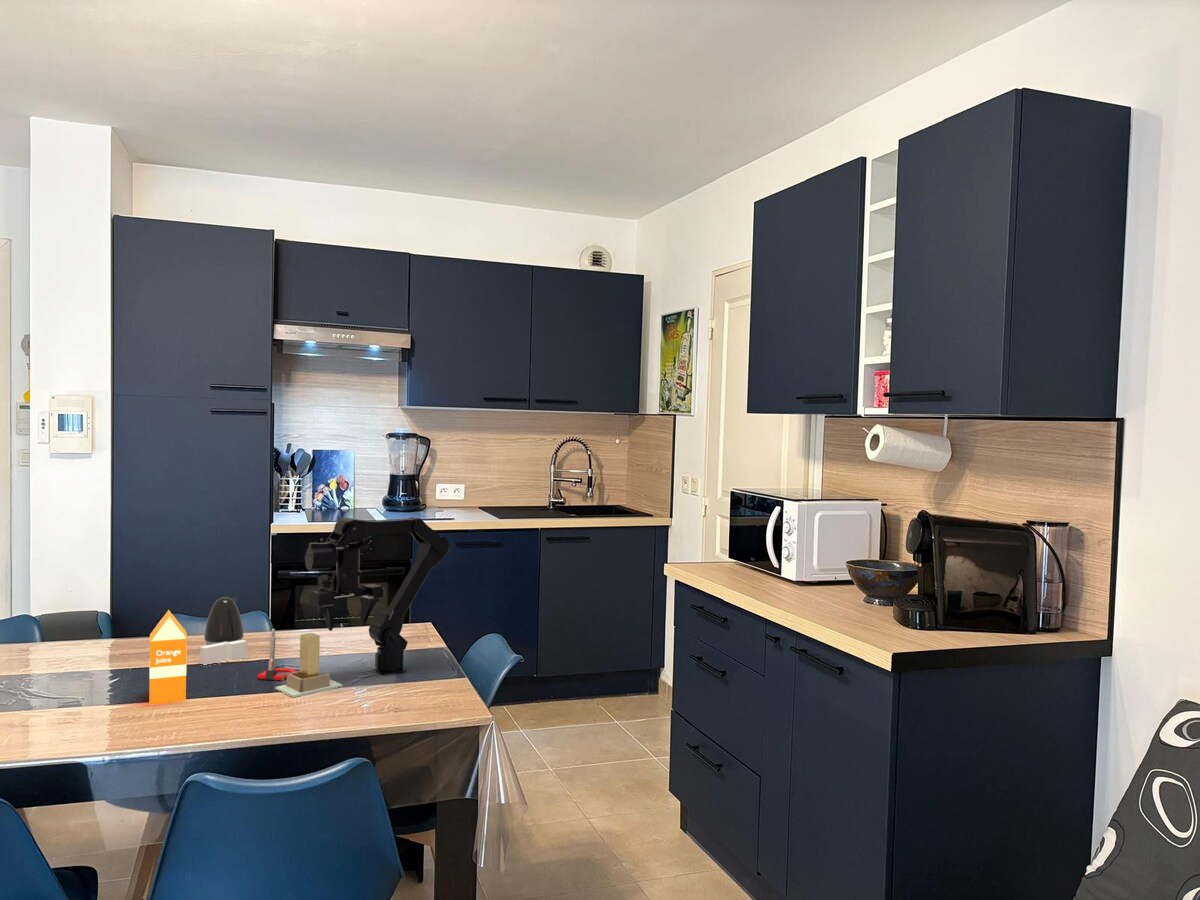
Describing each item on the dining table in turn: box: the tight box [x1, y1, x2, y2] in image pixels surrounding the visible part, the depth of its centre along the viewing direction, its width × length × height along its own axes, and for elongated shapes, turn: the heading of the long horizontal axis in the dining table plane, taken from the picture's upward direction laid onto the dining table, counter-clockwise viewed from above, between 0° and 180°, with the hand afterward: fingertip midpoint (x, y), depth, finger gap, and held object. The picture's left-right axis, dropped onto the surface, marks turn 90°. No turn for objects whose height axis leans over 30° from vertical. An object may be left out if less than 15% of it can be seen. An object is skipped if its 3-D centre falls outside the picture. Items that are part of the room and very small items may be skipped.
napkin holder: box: [199, 639, 248, 665], centre depth 233 cm, size 15×11×6 cm
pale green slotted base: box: [274, 670, 343, 698], centre depth 212 cm, size 13×9×4 cm
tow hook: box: [257, 628, 297, 682], centre depth 222 cm, size 8×13×9 cm
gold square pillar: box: [299, 632, 321, 679], centre depth 212 cm, size 5×4×12 cm
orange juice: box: [148, 609, 188, 706], centre depth 202 cm, size 8×9×20 cm
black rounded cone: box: [203, 596, 244, 646], centre depth 245 cm, size 10×10×15 cm
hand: (346, 627), depth 221 cm, fingers open, 9 cm apart
